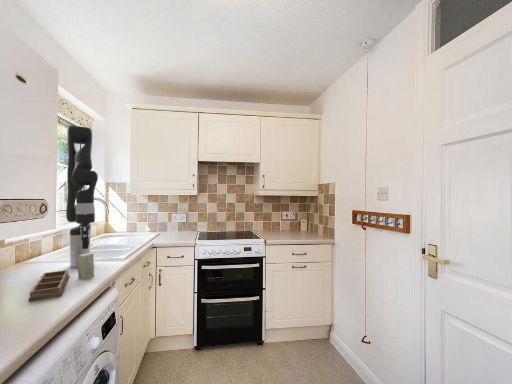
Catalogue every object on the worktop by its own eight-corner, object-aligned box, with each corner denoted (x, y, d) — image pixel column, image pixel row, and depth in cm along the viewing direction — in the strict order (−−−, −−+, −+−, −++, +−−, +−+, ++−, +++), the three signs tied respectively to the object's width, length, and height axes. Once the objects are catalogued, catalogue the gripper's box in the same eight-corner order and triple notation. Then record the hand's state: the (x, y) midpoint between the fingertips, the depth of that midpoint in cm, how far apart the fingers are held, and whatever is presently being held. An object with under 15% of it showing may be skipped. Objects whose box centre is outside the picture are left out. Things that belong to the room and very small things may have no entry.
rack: (42, 280, 122) (42, 273, 122) (69, 277, 127) (69, 269, 127) (28, 301, 100) (28, 292, 100) (61, 296, 105) (61, 287, 105)
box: (88, 275, 130) (88, 252, 129) (94, 276, 128) (94, 253, 128) (77, 278, 125) (77, 255, 125) (83, 280, 123) (83, 256, 123)
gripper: (77, 212, 130) (77, 245, 130) (74, 214, 118) (74, 250, 118) (95, 211, 134) (95, 243, 134) (94, 213, 122) (94, 248, 122)
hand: (85, 247), depth 126 cm, fingers open, 8 cm apart
